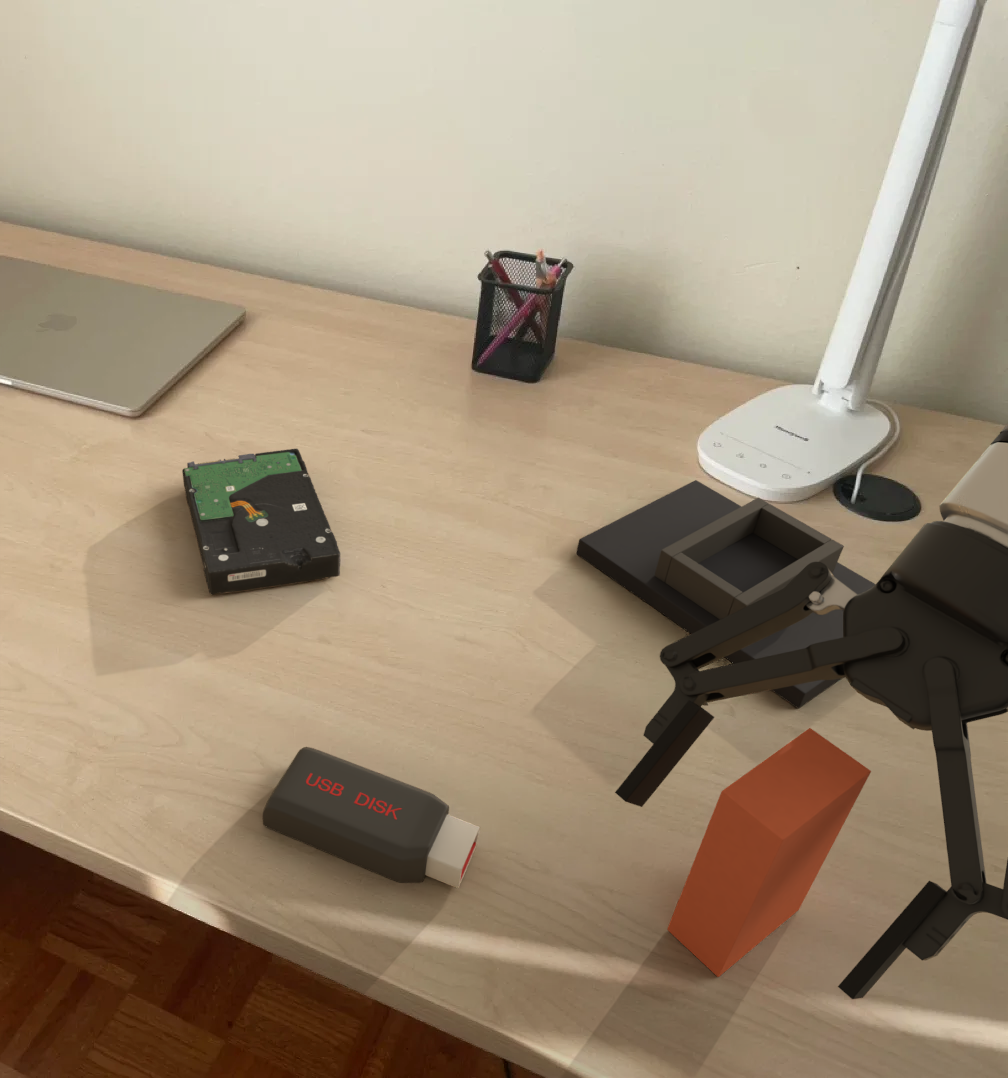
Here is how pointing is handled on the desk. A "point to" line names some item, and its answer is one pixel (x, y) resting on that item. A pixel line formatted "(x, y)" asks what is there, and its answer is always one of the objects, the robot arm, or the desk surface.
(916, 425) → the desk surface
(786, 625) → the robot arm
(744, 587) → the socket base
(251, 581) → the disk drive
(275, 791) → the usb drive
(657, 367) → the desk surface
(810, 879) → the orange rectangular block
